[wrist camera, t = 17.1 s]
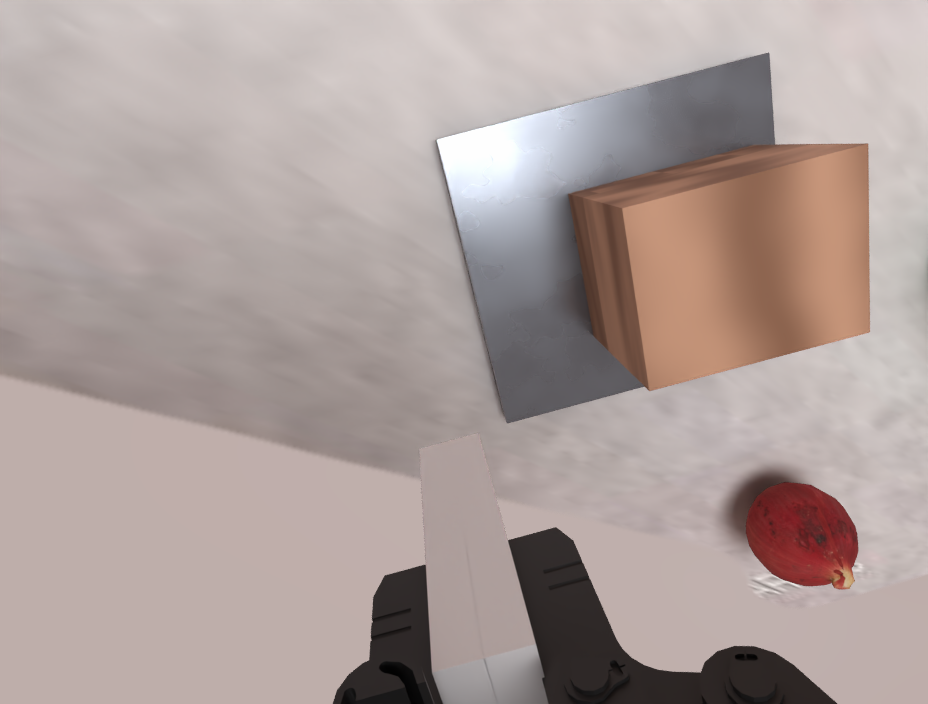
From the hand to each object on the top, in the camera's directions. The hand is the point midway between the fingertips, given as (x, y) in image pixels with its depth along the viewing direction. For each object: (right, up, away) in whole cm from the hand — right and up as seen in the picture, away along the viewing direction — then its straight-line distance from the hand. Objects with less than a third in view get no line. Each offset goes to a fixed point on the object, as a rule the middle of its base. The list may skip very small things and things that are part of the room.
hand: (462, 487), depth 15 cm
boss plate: (+9, +9, +18) cm, 22 cm away
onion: (+20, -6, +25) cm, 33 cm away
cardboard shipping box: (+11, +9, +17) cm, 23 cm away
